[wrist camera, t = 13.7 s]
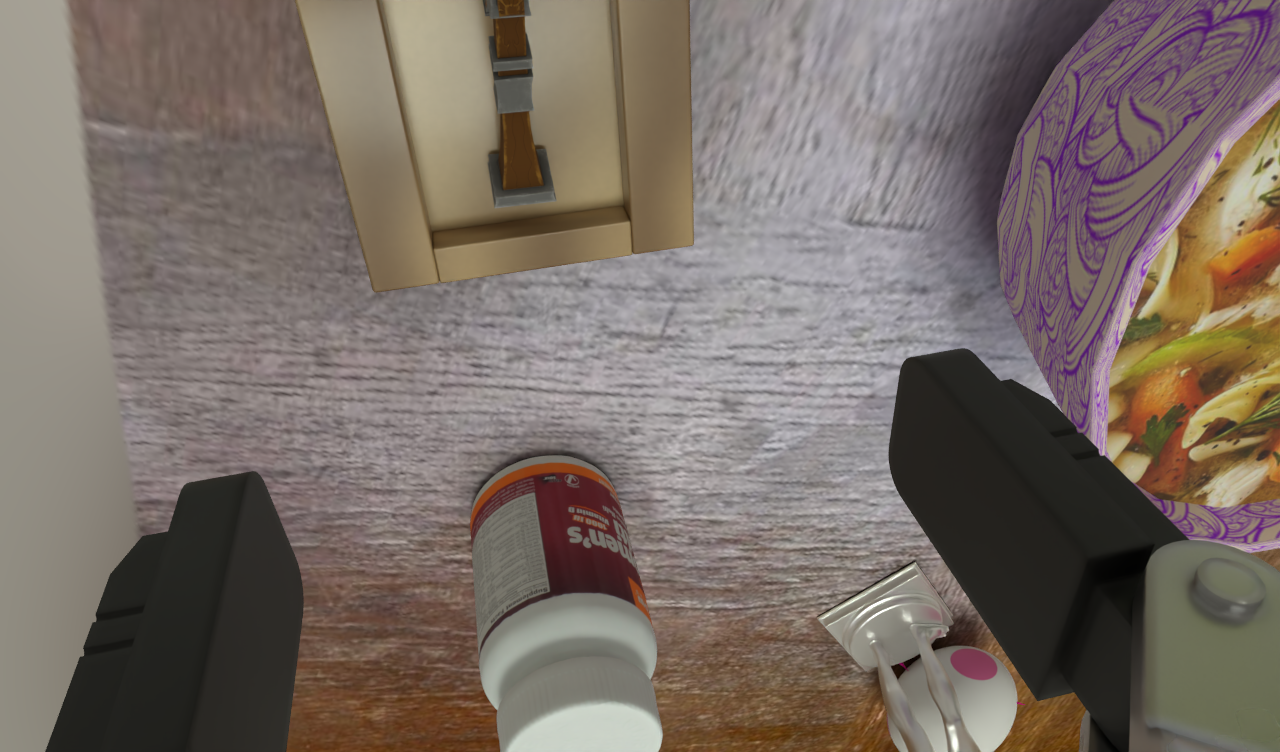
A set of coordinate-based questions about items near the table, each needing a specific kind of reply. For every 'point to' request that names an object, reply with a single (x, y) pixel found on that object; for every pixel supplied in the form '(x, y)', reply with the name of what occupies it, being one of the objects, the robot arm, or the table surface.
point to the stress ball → (963, 697)
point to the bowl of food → (1160, 254)
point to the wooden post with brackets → (515, 111)
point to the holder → (470, 130)
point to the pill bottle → (562, 612)
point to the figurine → (902, 650)
